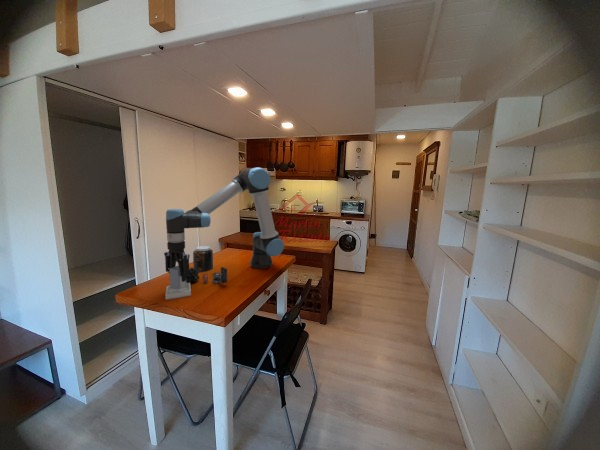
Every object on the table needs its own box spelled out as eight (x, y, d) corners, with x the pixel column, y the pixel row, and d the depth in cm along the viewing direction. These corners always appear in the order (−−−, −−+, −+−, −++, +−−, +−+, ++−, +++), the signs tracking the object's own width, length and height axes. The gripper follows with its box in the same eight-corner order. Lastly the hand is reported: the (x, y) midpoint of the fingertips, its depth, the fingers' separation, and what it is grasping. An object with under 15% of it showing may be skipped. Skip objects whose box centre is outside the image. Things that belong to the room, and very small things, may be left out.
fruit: (167, 282, 121) (192, 283, 119) (169, 267, 123) (194, 267, 120) (178, 282, 130) (202, 282, 127) (180, 267, 131) (203, 268, 129)
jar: (208, 273, 139) (208, 250, 137) (190, 272, 140) (189, 249, 137) (216, 267, 151) (215, 245, 149) (199, 266, 151) (198, 245, 149)
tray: (190, 287, 119) (190, 282, 119) (191, 295, 110) (190, 290, 109) (166, 290, 114) (166, 286, 114) (165, 300, 105) (165, 295, 104)
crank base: (220, 280, 129) (220, 272, 129) (222, 283, 125) (221, 275, 124) (203, 282, 125) (202, 274, 124) (204, 286, 120) (203, 277, 120)
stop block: (178, 284, 114) (177, 265, 113) (186, 285, 113) (185, 266, 112) (170, 288, 110) (169, 268, 108) (178, 289, 108) (177, 270, 107)
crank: (211, 278, 125) (211, 264, 124) (218, 276, 128) (218, 262, 127) (222, 285, 117) (222, 269, 116) (229, 283, 120) (229, 268, 119)
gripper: (154, 240, 107) (157, 286, 110) (185, 244, 102) (186, 292, 105) (168, 237, 114) (170, 280, 117) (197, 241, 109) (198, 286, 112)
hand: (178, 286), depth 111 cm, fingers closed on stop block, 5 cm apart
